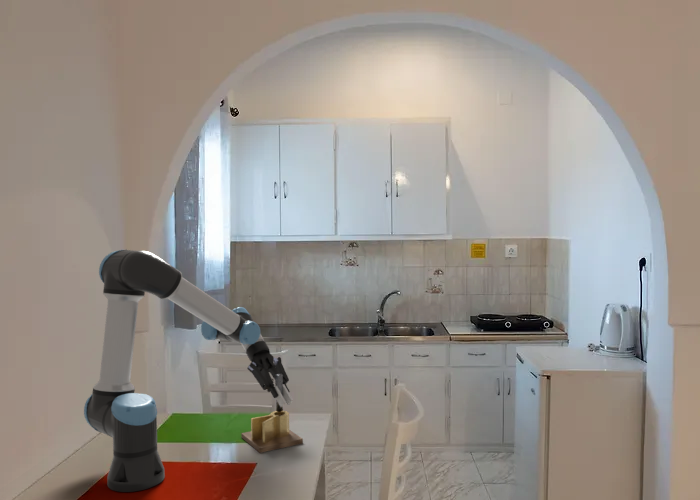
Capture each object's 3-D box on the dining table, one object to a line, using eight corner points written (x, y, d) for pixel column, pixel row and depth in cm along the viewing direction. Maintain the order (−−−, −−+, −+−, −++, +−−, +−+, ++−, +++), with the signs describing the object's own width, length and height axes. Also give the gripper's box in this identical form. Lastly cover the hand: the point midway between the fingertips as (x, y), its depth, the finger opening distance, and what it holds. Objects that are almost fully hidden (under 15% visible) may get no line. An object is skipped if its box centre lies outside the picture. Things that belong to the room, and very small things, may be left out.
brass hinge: (259, 445, 189) (258, 423, 189) (248, 437, 196) (248, 416, 196) (295, 437, 195) (295, 416, 195) (284, 430, 203) (283, 409, 203)
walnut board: (259, 452, 187) (259, 448, 187) (241, 437, 201) (241, 433, 201) (302, 443, 195) (302, 438, 194) (282, 429, 208) (282, 424, 208)
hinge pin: (277, 412, 197) (276, 376, 197) (274, 410, 199) (274, 374, 199) (284, 410, 198) (283, 375, 198) (281, 409, 200) (280, 373, 200)
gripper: (268, 349, 214) (299, 404, 203) (232, 356, 203) (263, 415, 192) (277, 336, 210) (309, 392, 199) (241, 343, 199) (273, 402, 188)
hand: (286, 403), depth 196 cm, fingers closed on hinge pin, 2 cm apart
